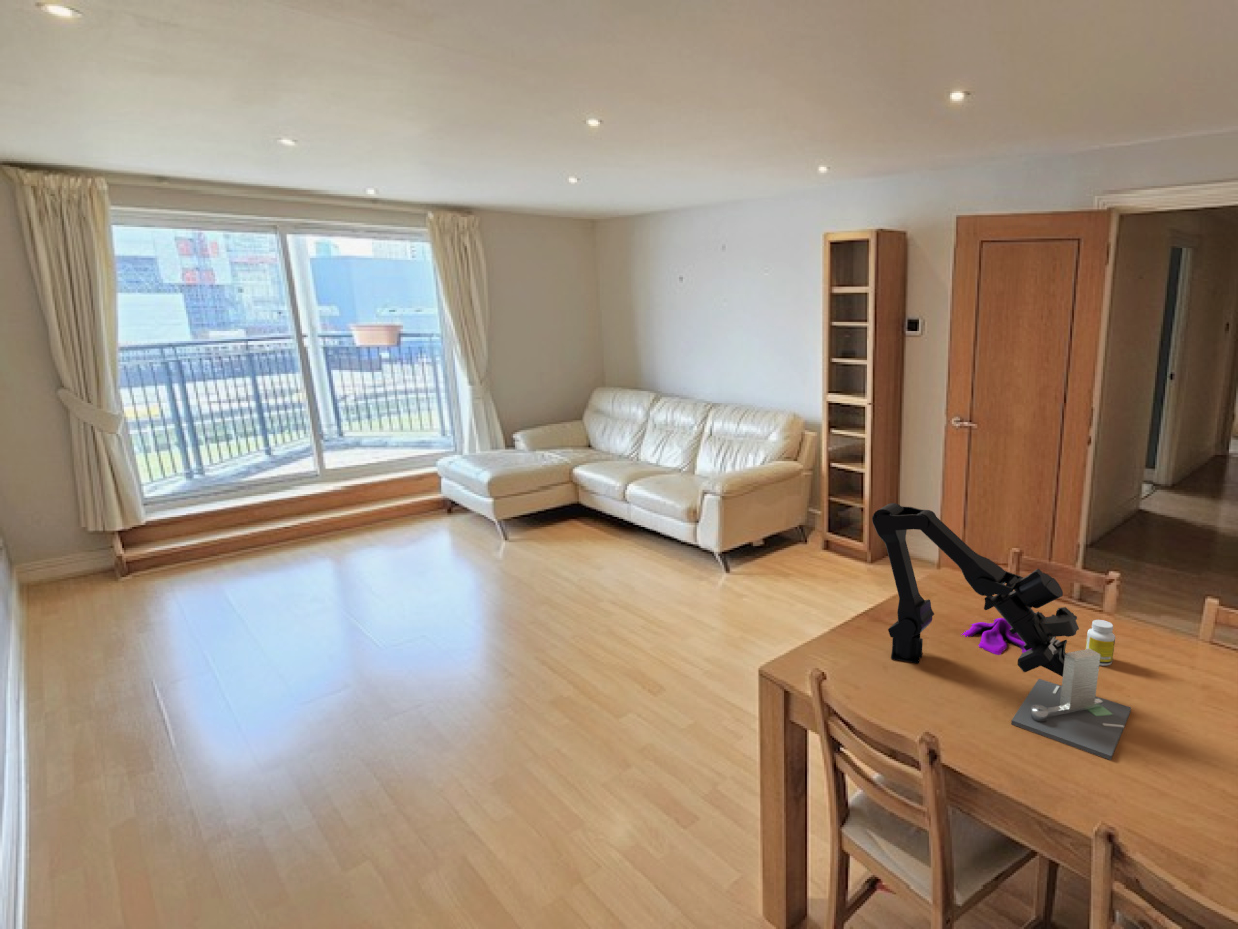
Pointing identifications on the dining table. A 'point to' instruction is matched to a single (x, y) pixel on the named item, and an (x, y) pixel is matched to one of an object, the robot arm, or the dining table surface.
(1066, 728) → the plate
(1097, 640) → the supplement bottle
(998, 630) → the cloth
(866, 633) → the dining table surface
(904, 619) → the robot arm
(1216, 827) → the dining table surface
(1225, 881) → the dining table surface
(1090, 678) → the frosted block on spoon
